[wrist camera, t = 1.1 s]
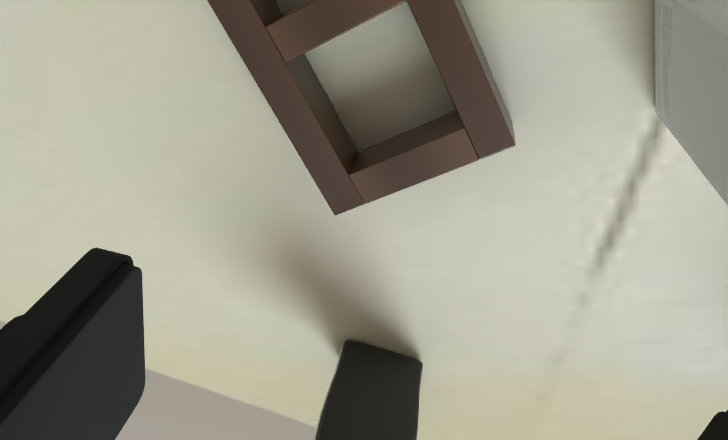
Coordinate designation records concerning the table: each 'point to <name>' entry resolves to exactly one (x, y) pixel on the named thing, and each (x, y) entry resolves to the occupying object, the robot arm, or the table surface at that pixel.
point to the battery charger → (371, 396)
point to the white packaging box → (695, 81)
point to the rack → (319, 119)
